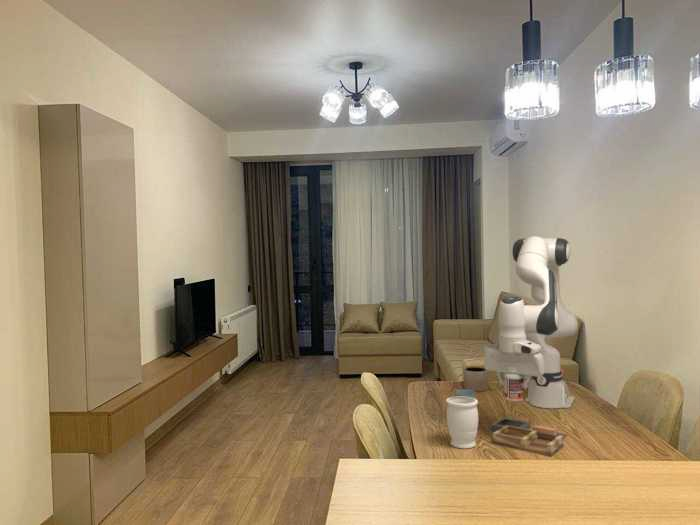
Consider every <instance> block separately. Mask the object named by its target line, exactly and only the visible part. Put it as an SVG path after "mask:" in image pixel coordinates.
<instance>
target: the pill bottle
mask: <svg viewBox="0 0 700 525" xmlns="http://www.w3.org/2000/svg"><path fill="white" fill-rule="evenodd" d="M506 371H507V372H508V373H503V374H504V375H503V378H504V385H503V387H504V389H503V390H504V399H505V400H506V401H510V402H521V401H523V400H524V388H522V385H521V383H523V382H524V375H520V374H515V373H517V368H516V367H509V366H506Z"/></svg>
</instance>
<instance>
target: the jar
mask: <svg viewBox="0 0 700 525" xmlns="http://www.w3.org/2000/svg"><path fill="white" fill-rule="evenodd" d="M446 404H447V408H446V422H447V428H448V432H449V436H450V439H451V440H450V445H451V446H453V447H454V448H458V449H463V450H464V449H473V448H474V447H475V446H477V443H476V437H477V435H478V427H479V411H478V407H477V405H478V404H479V400H478V399H477V398H476V397H475V398H471V397H465V396H456V395H455V396H451V397H448V398H446Z"/></svg>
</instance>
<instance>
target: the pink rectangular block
mask: <svg viewBox="0 0 700 525" xmlns="http://www.w3.org/2000/svg"><path fill="white" fill-rule="evenodd" d="M532 430H536V431H537V432H540V433H545V434H550V435H555V436H556V433H557V428H554V427H549V426H544V425H537V424H535V425H534V426H532Z"/></svg>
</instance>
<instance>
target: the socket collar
mask: <svg viewBox="0 0 700 525" xmlns="http://www.w3.org/2000/svg"><path fill="white" fill-rule="evenodd" d="M506 425H510V426H515V427H520V428H525V429H530V430H531V422H529V421H524V420H518V419H514V418H508V417H502V418H500V419H498V420H496V421H494V422H492V423H490V431H494V432H496V431H497V430H499V429H501V428H502V427H504V426H506Z"/></svg>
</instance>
